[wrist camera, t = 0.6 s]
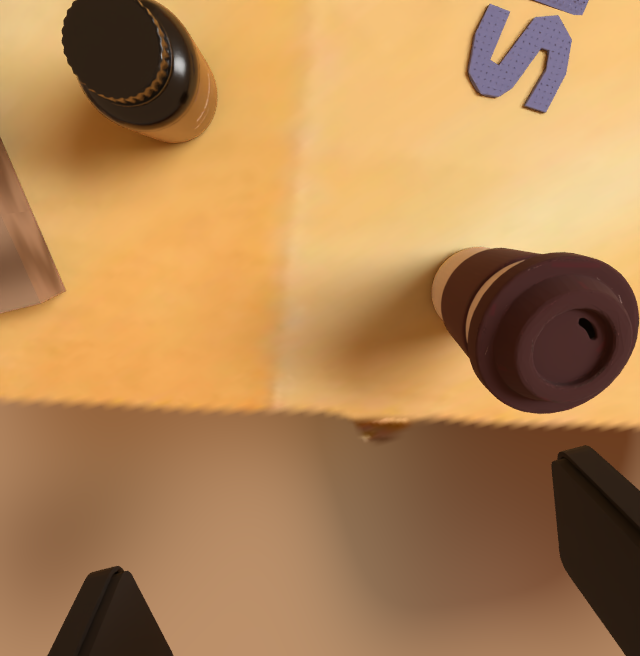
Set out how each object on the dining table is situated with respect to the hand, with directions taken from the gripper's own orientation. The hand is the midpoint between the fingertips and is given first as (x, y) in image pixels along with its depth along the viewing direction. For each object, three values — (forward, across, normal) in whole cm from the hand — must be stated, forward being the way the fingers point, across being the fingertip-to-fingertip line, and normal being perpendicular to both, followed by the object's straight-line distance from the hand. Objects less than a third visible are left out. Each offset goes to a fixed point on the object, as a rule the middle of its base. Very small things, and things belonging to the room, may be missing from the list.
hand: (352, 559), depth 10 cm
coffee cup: (+30, -14, +5) cm, 33 cm away
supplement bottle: (+30, +6, -15) cm, 34 cm away
